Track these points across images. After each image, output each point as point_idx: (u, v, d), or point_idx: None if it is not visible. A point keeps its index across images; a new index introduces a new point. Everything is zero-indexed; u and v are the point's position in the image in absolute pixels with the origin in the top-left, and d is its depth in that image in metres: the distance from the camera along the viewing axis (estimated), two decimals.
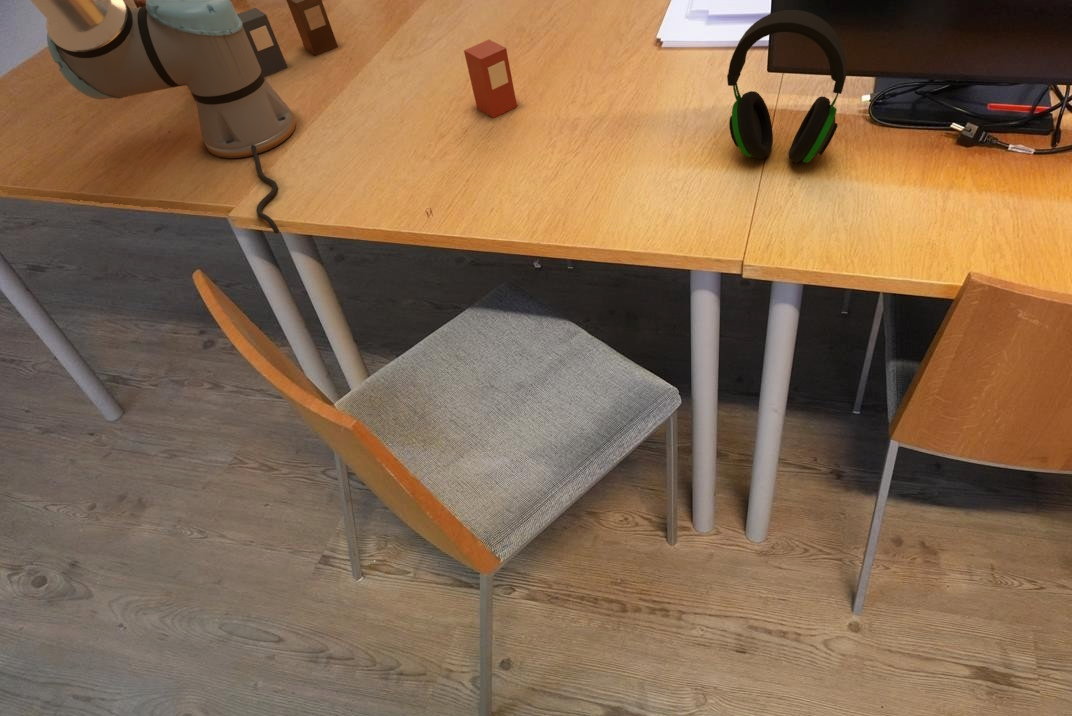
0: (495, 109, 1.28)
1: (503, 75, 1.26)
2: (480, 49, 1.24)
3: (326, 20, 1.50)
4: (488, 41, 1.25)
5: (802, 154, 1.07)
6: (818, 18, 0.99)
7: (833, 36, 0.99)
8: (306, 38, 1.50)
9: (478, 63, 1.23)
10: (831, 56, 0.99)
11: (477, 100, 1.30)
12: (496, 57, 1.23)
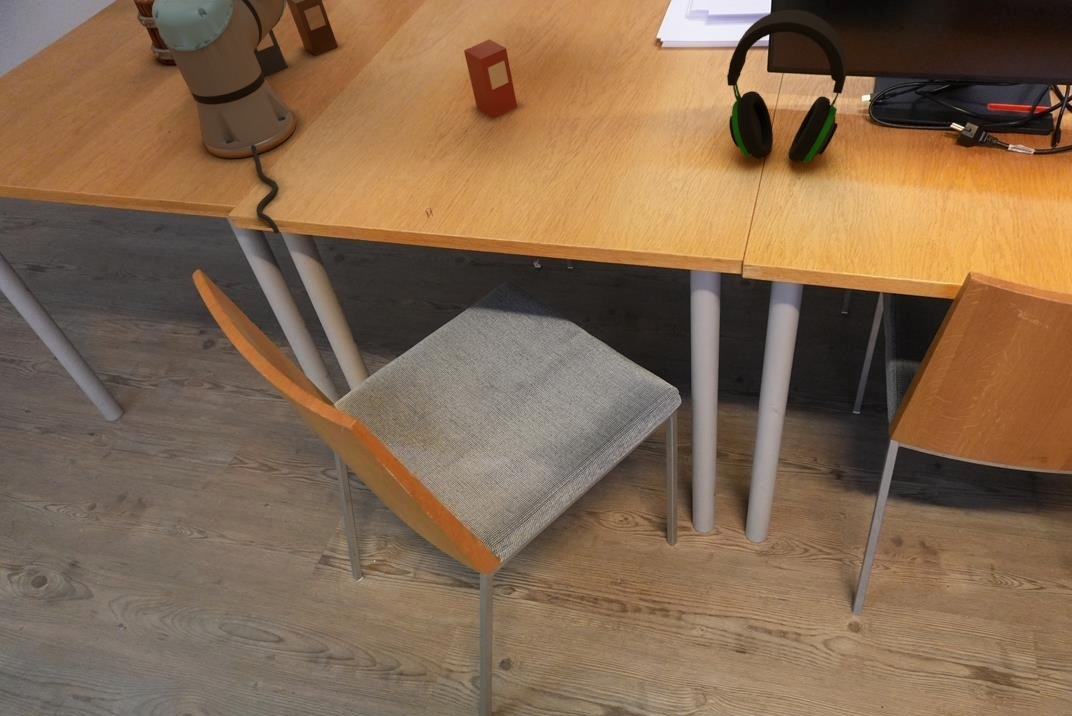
0: (495, 109, 1.28)
1: (503, 75, 1.26)
2: (480, 49, 1.24)
3: (326, 20, 1.50)
4: (488, 41, 1.25)
5: (802, 154, 1.07)
6: (818, 18, 0.99)
7: (833, 36, 0.99)
8: (306, 38, 1.50)
9: (478, 63, 1.23)
10: (831, 56, 0.99)
11: (477, 100, 1.30)
12: (496, 57, 1.23)
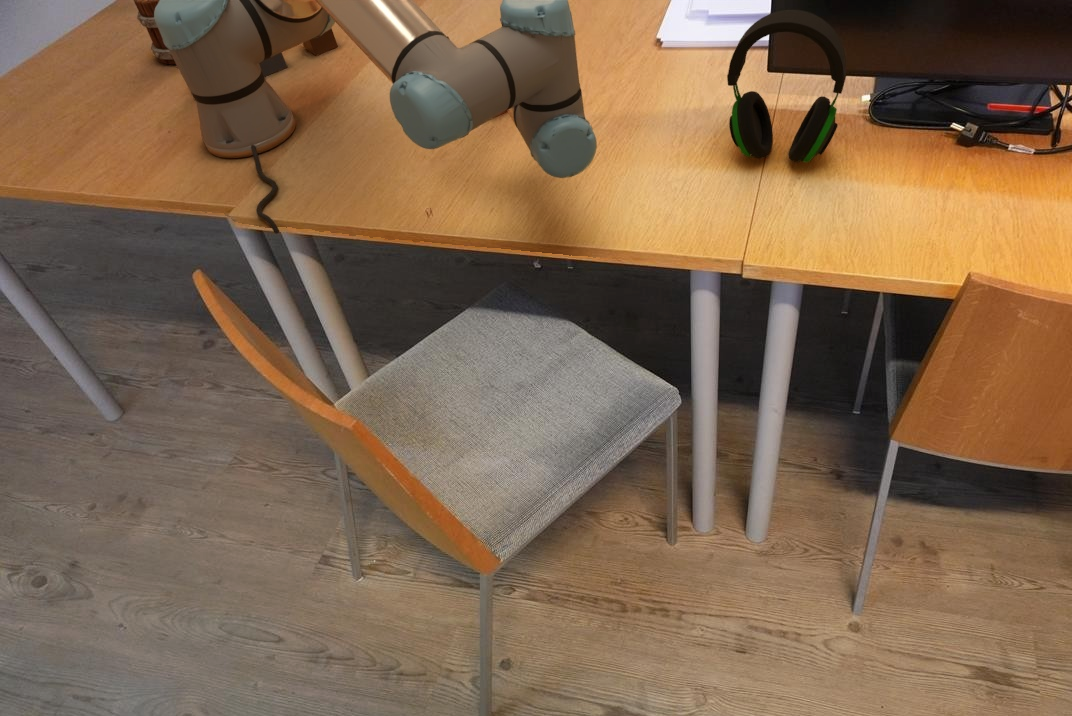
0: None
1: None
2: None
3: None
4: None
5: (802, 154, 1.07)
6: (818, 18, 0.99)
7: (833, 36, 0.99)
8: None
9: None
10: (831, 56, 0.99)
11: None
12: None
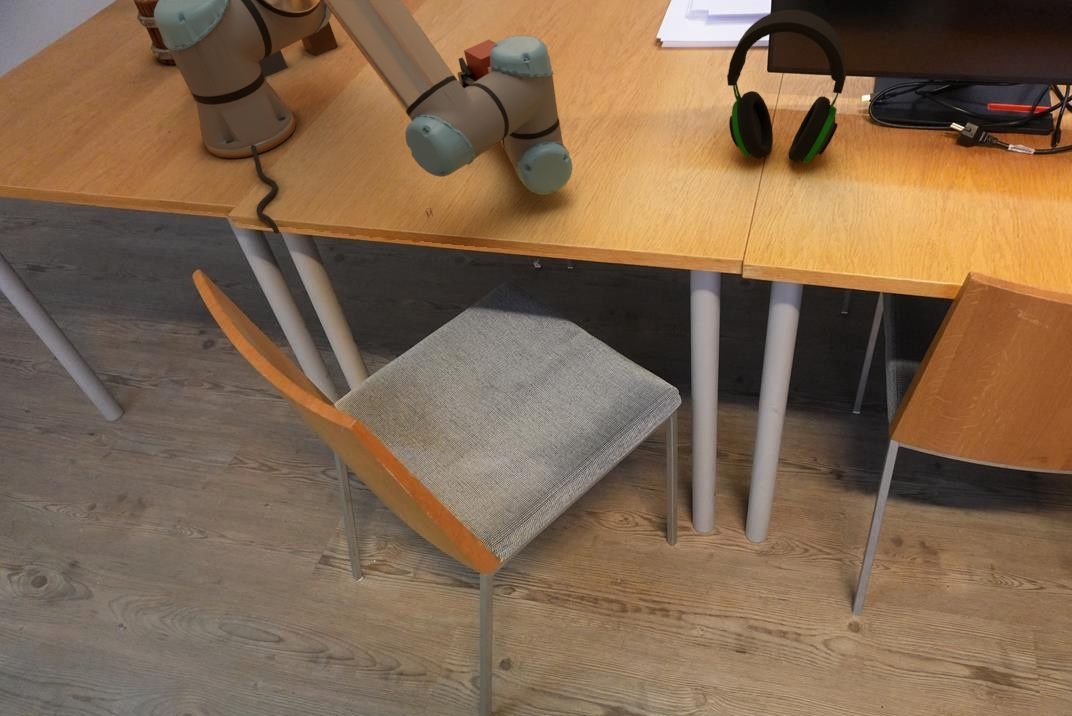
0: None
1: None
2: (480, 49, 1.24)
3: None
4: (488, 41, 1.25)
5: (802, 154, 1.07)
6: (818, 18, 0.99)
7: (833, 36, 0.99)
8: (306, 38, 1.50)
9: (478, 63, 1.23)
10: (831, 56, 0.99)
11: None
12: None
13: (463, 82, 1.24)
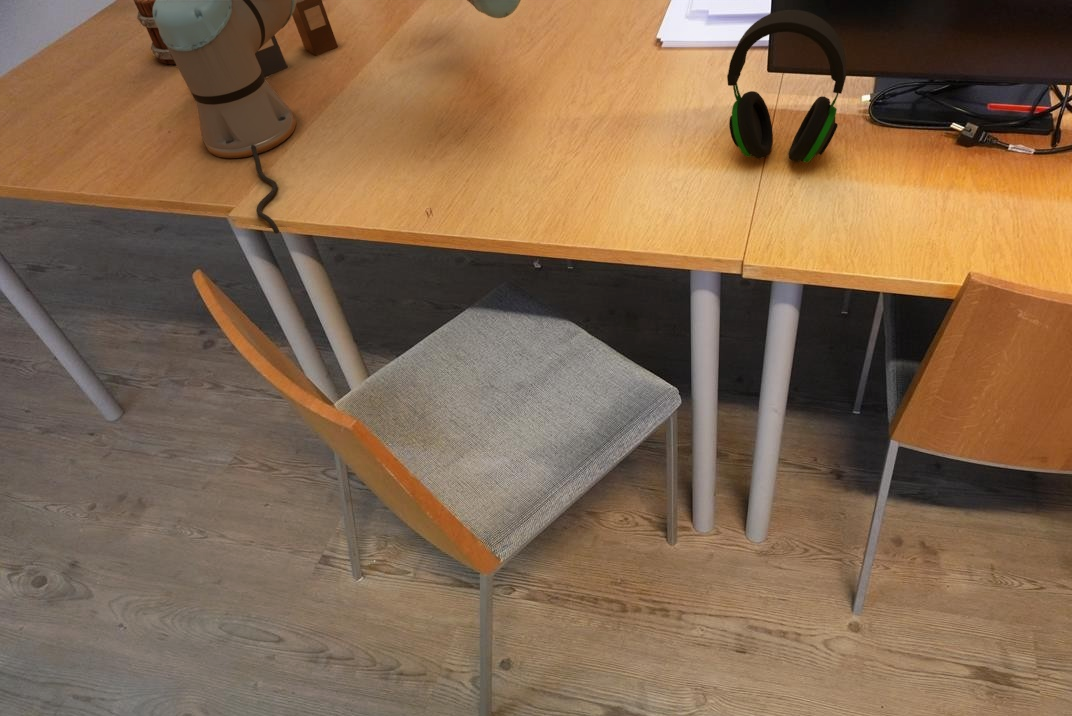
0: None
1: None
2: None
3: (326, 20, 1.50)
4: None
5: (802, 154, 1.07)
6: (818, 18, 0.99)
7: (833, 36, 0.99)
8: (306, 38, 1.50)
9: None
10: (831, 56, 0.99)
11: None
12: None
13: None
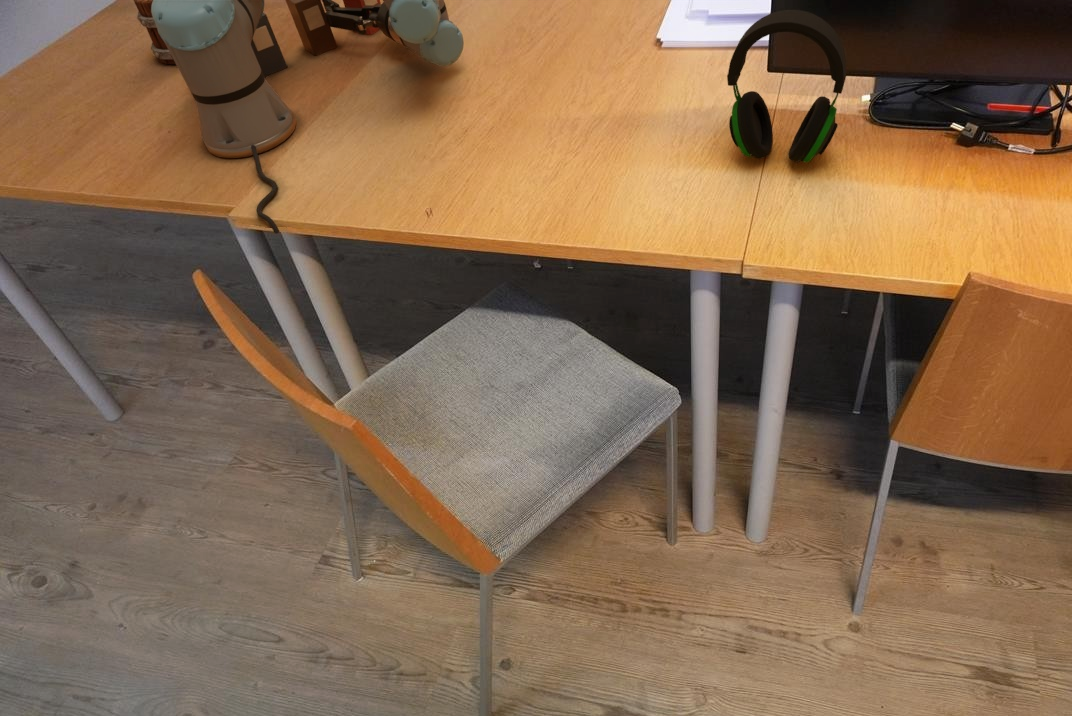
0: (371, 26, 1.55)
1: None
2: None
3: (325, 20, 1.49)
4: None
5: (802, 154, 1.07)
6: (818, 18, 0.99)
7: (833, 36, 0.99)
8: (306, 38, 1.50)
9: None
10: (831, 56, 0.99)
11: None
12: None
13: (334, 11, 1.48)
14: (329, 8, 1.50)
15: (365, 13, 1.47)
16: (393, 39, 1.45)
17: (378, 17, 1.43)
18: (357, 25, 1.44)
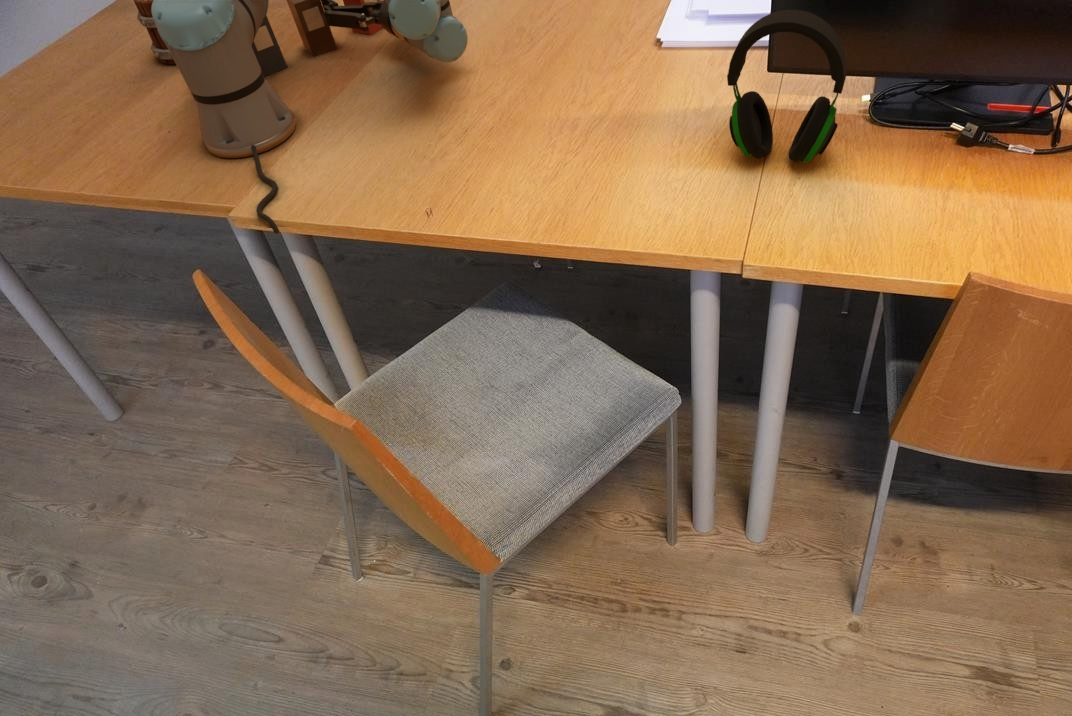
0: (371, 26, 1.55)
1: None
2: None
3: (325, 21, 1.49)
4: None
5: (802, 154, 1.07)
6: (818, 18, 0.99)
7: (833, 36, 0.99)
8: (305, 38, 1.50)
9: None
10: (831, 56, 0.99)
11: None
12: None
13: (333, 10, 1.46)
14: (328, 7, 1.48)
15: (366, 10, 1.45)
16: (395, 35, 1.43)
17: None
18: (360, 22, 1.42)
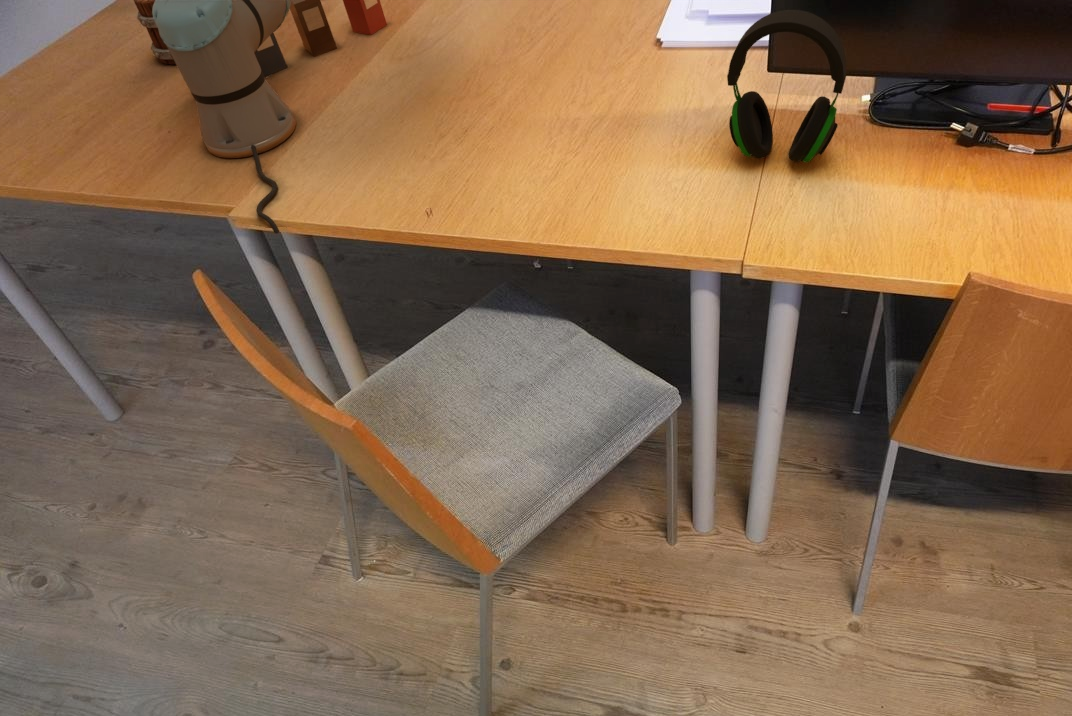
0: (371, 26, 1.55)
1: None
2: None
3: (325, 21, 1.49)
4: None
5: (802, 154, 1.07)
6: (818, 18, 0.99)
7: (833, 36, 0.99)
8: (305, 38, 1.50)
9: None
10: (831, 56, 0.99)
11: (353, 23, 1.56)
12: None
13: None
14: None
15: None
16: None
17: None
18: None
